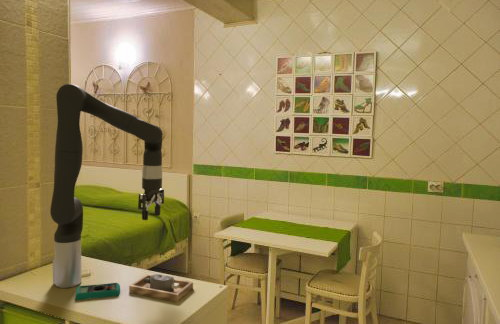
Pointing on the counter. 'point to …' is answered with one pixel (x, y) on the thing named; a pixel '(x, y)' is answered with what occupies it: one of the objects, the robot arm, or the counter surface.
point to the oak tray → (175, 295)
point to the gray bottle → (162, 282)
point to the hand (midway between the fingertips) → (151, 217)
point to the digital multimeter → (97, 291)
